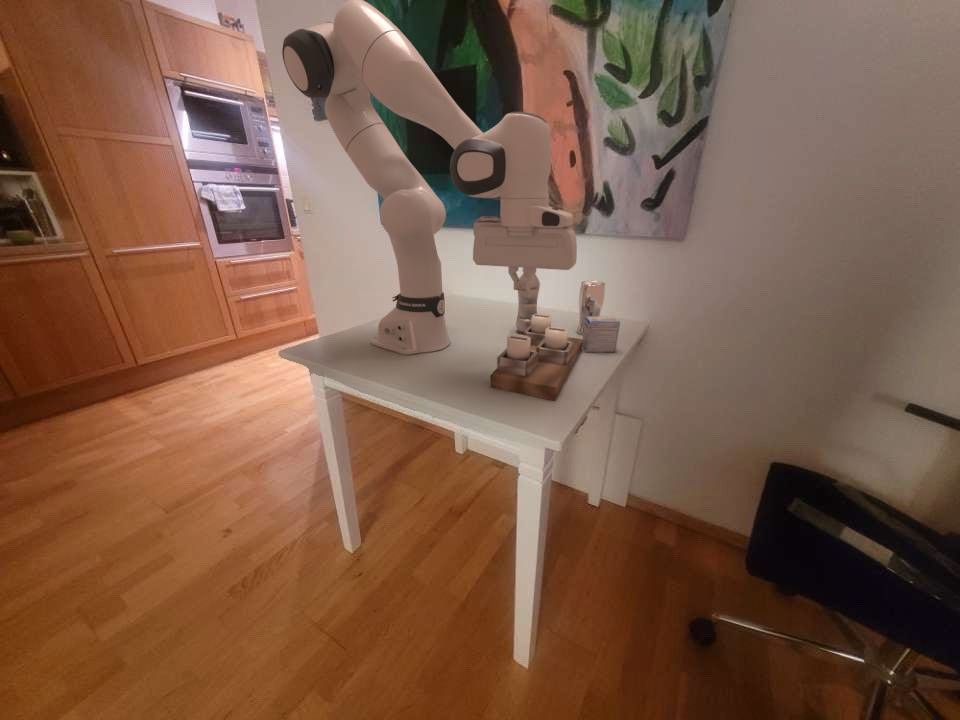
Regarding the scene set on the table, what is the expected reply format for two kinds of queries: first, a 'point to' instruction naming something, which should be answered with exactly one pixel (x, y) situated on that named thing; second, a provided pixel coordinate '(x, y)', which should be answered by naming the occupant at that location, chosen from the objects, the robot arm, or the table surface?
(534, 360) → the knob mount
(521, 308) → the plastic bottle
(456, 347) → the table surface
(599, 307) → the beer glass
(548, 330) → the knob
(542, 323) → the knob
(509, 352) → the knob
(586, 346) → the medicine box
